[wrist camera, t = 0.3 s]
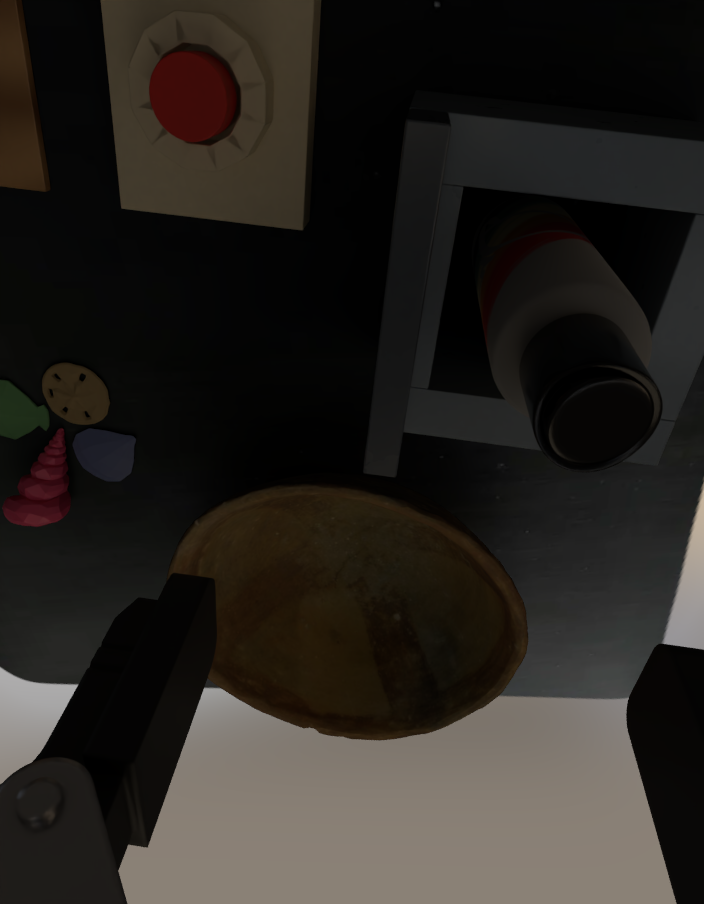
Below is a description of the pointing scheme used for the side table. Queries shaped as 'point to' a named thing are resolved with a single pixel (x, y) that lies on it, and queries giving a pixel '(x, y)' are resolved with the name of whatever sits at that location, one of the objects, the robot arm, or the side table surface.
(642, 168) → the dark grey square holder
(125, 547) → the side table surface
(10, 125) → the coaster
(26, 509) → the toy pieces
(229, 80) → the button
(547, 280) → the spray bottle
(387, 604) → the bowl
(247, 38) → the control box
